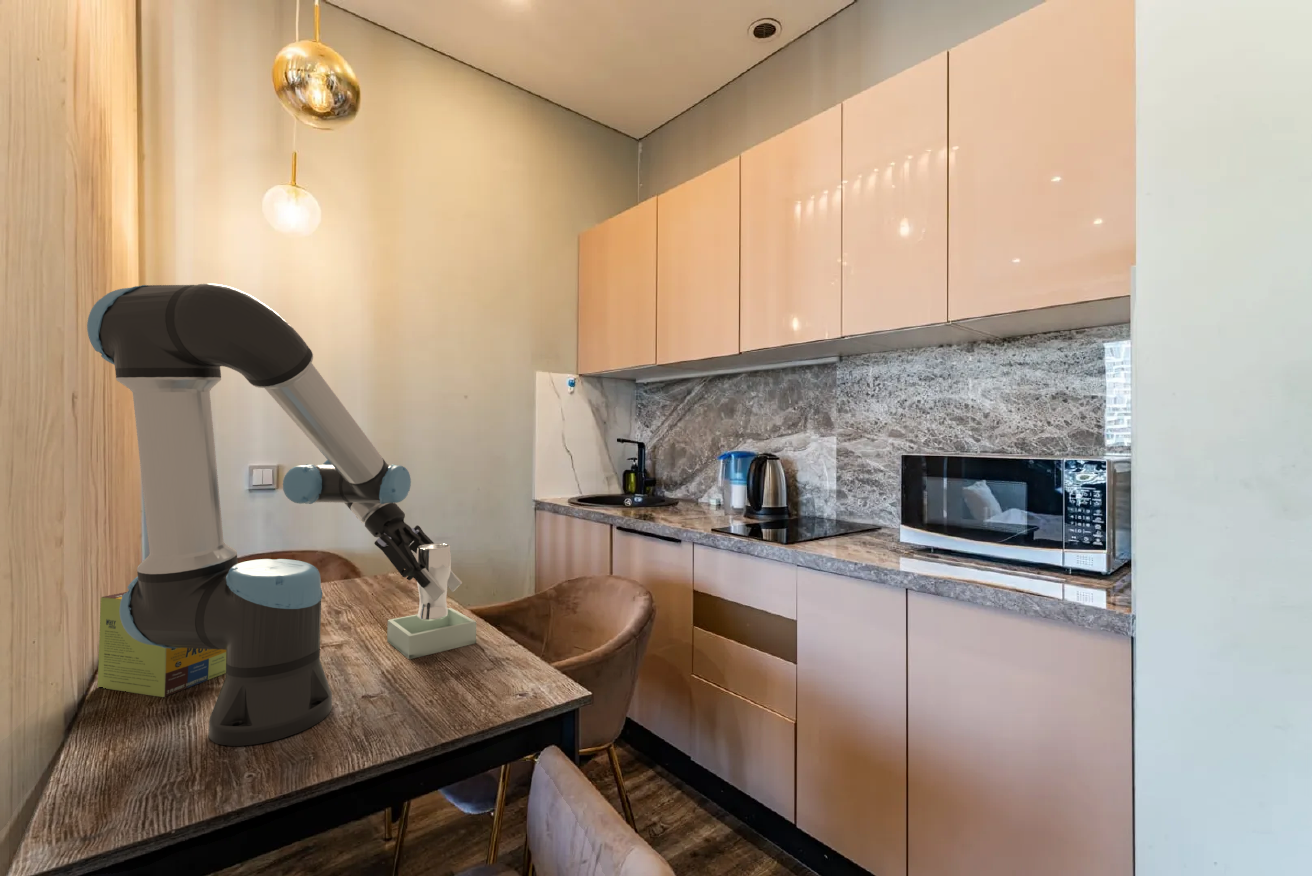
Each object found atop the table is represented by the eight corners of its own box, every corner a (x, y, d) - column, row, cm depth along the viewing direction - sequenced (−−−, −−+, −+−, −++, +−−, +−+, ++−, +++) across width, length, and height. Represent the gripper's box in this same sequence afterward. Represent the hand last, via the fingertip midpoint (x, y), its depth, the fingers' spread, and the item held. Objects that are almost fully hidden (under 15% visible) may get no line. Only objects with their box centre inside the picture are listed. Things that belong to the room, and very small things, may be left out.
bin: (476, 643, 115) (476, 621, 115) (408, 659, 106) (409, 636, 106) (450, 627, 125) (450, 607, 125) (387, 641, 116) (387, 620, 116)
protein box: (164, 698, 89) (167, 602, 90) (95, 688, 93) (98, 596, 93) (228, 673, 99) (230, 587, 100) (164, 665, 103) (166, 582, 103)
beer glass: (450, 619, 114) (451, 547, 114) (414, 623, 112) (415, 550, 112) (449, 610, 121) (450, 542, 121) (415, 613, 118) (416, 544, 118)
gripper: (394, 519, 128) (459, 591, 126) (335, 532, 109) (410, 617, 106) (416, 497, 128) (481, 569, 125) (360, 506, 108) (436, 591, 106)
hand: (448, 591), depth 116 cm, fingers closed on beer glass, 7 cm apart
